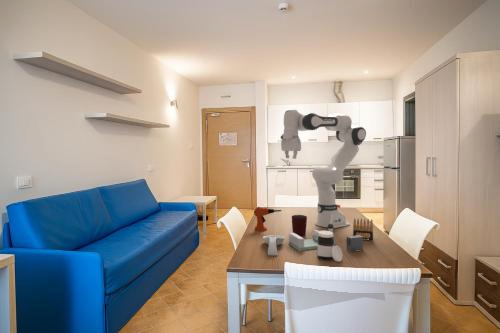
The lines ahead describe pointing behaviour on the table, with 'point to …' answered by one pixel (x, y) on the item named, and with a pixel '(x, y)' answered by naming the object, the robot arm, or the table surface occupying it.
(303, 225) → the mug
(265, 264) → the table surface
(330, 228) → the sliding jaw
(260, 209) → the toy drill
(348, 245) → the steel block
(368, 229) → the ammunition clip
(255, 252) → the table surface
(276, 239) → the spoon rest
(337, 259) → the spread jar
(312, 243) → the vise
